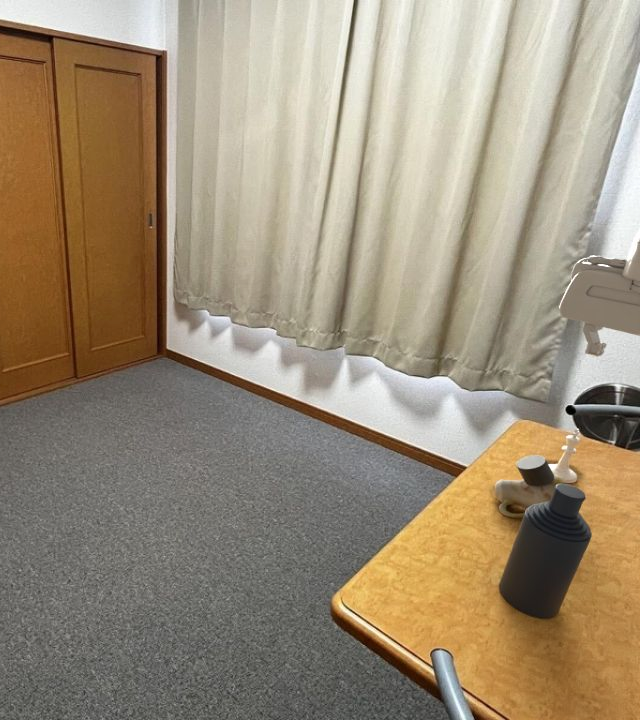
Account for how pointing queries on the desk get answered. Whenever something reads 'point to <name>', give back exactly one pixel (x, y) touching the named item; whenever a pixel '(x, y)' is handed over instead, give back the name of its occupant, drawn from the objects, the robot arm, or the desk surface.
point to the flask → (546, 554)
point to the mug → (523, 494)
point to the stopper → (535, 470)
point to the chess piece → (567, 460)
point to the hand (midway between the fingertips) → (633, 365)
